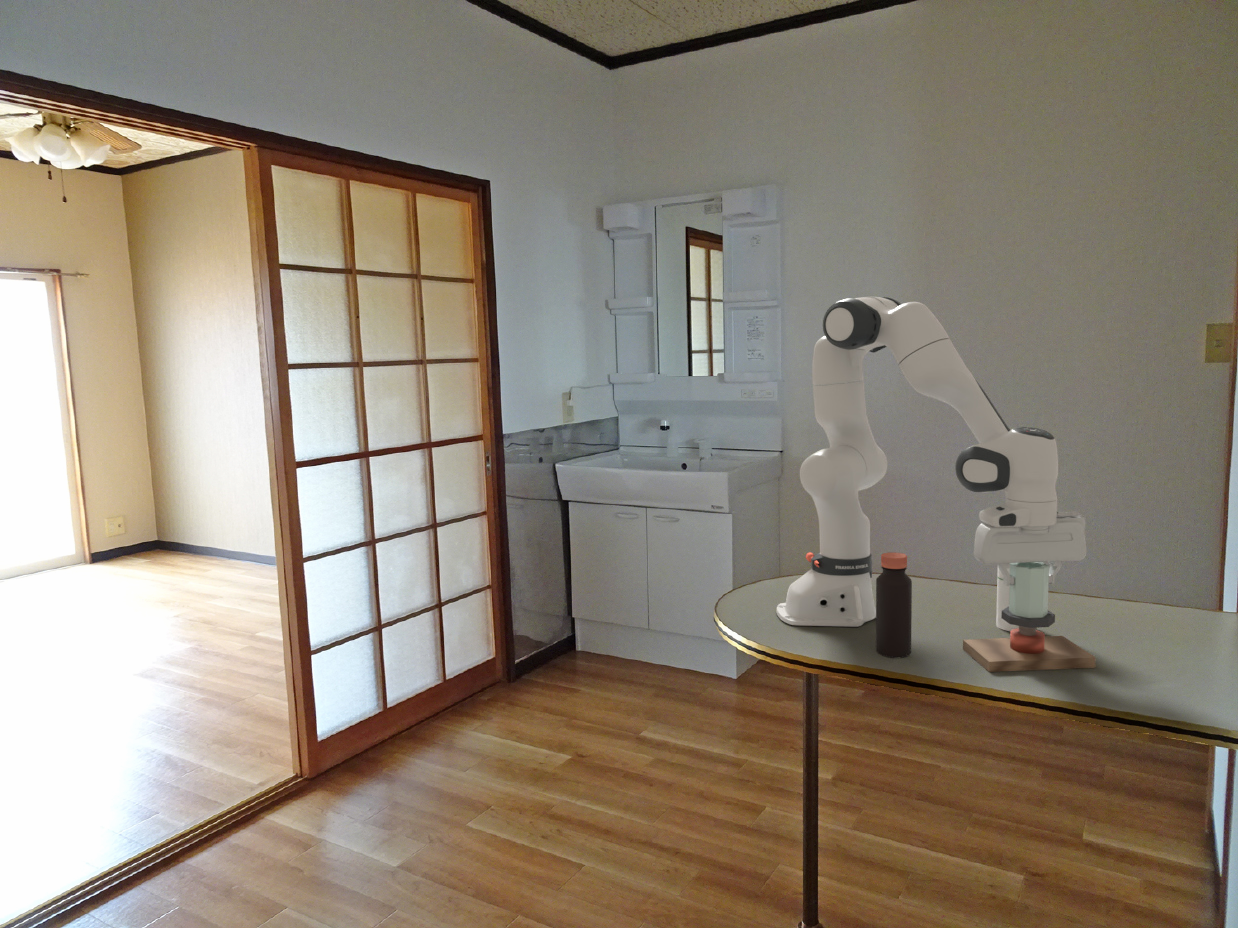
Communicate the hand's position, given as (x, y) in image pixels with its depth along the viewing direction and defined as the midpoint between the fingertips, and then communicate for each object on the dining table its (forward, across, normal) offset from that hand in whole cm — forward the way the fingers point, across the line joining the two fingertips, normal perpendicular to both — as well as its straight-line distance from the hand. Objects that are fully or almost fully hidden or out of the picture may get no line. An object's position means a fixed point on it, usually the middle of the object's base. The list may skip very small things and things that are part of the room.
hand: (1028, 584), depth 165 cm
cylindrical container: (+15, -6, -18) cm, 24 cm away
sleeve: (+6, 0, 0) cm, 6 cm away
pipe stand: (+15, 0, 0) cm, 15 cm away
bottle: (+15, +24, -6) cm, 29 cm away
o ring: (+7, 0, 0) cm, 7 cm away
